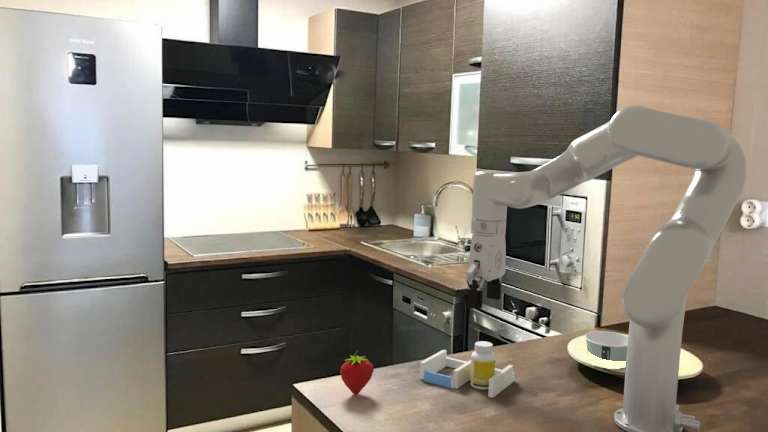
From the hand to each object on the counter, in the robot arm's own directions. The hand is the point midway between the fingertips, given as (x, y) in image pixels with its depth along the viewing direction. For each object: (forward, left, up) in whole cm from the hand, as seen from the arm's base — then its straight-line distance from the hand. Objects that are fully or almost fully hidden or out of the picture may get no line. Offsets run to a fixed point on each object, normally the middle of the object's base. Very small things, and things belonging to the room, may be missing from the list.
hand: (484, 303), depth 143 cm
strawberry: (+19, +21, -19) cm, 34 cm away
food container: (-20, -33, -19) cm, 43 cm away
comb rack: (+4, 0, -19) cm, 19 cm away
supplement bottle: (0, 0, -19) cm, 19 cm away
